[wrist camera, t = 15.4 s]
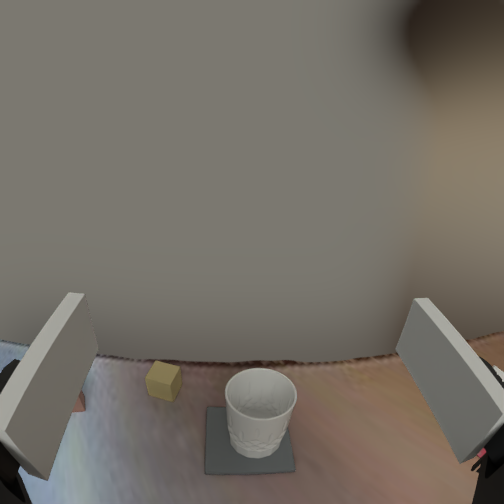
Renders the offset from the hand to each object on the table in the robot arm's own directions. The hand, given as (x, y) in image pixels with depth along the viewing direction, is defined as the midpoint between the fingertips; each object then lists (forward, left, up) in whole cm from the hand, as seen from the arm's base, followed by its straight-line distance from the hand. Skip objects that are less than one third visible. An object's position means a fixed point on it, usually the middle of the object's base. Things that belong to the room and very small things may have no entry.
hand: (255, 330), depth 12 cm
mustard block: (-10, +23, -30) cm, 39 cm away
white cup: (+3, +14, -30) cm, 33 cm away
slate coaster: (+2, +14, -30) cm, 33 cm away
